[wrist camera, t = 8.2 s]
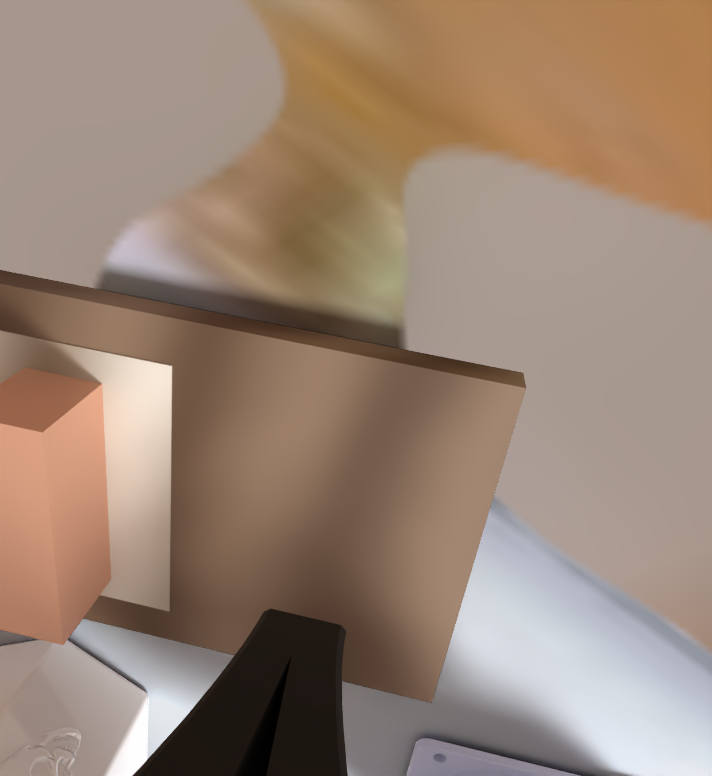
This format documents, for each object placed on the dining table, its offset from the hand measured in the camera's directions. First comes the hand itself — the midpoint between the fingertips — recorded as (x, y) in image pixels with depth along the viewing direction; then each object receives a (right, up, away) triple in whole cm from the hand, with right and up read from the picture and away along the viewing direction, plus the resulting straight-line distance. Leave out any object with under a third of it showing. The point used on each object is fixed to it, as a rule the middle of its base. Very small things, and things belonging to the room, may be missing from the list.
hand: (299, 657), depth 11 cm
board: (-5, +1, +11) cm, 12 cm away
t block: (-11, +2, +10) cm, 16 cm away
